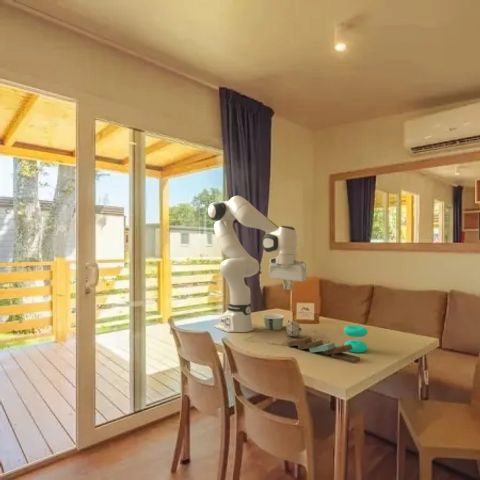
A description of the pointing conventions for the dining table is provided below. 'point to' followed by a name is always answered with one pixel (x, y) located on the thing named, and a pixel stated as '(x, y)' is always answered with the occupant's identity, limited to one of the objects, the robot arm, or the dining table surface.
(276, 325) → the food container
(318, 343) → the domino
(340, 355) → the domino
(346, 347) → the domino
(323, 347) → the domino
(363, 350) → the donuts
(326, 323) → the dining table surface
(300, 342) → the domino
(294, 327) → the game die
